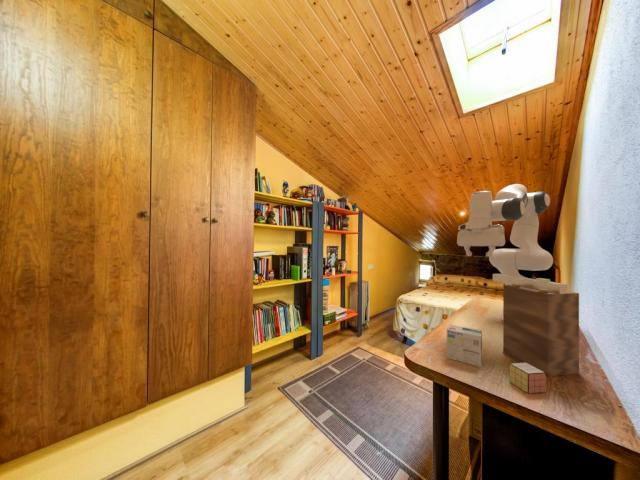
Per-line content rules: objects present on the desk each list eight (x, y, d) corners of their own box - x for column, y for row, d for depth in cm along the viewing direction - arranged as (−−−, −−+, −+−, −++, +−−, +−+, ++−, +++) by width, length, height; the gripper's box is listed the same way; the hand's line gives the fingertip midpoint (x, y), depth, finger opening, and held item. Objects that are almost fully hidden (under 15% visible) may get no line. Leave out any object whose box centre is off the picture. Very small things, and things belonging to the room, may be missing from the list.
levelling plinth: (530, 351, 89) (530, 281, 89) (579, 373, 74) (578, 290, 74) (503, 353, 87) (503, 282, 88) (547, 376, 73) (547, 291, 73)
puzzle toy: (525, 380, 70) (525, 362, 70) (546, 392, 65) (546, 372, 65) (509, 381, 70) (509, 363, 70) (528, 394, 64) (528, 373, 64)
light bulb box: (482, 359, 83) (482, 329, 83) (481, 368, 77) (482, 335, 77) (448, 351, 89) (448, 323, 89) (446, 358, 84) (446, 328, 84)
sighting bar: (498, 280, 98) (498, 271, 98) (567, 293, 74) (567, 281, 74) (492, 280, 97) (492, 271, 97) (559, 293, 73) (559, 281, 73)
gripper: (509, 224, 96) (508, 257, 95) (464, 228, 115) (463, 255, 115) (498, 222, 94) (497, 256, 93) (455, 226, 113) (454, 254, 113)
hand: (478, 256), depth 104 cm, fingers open, 8 cm apart
